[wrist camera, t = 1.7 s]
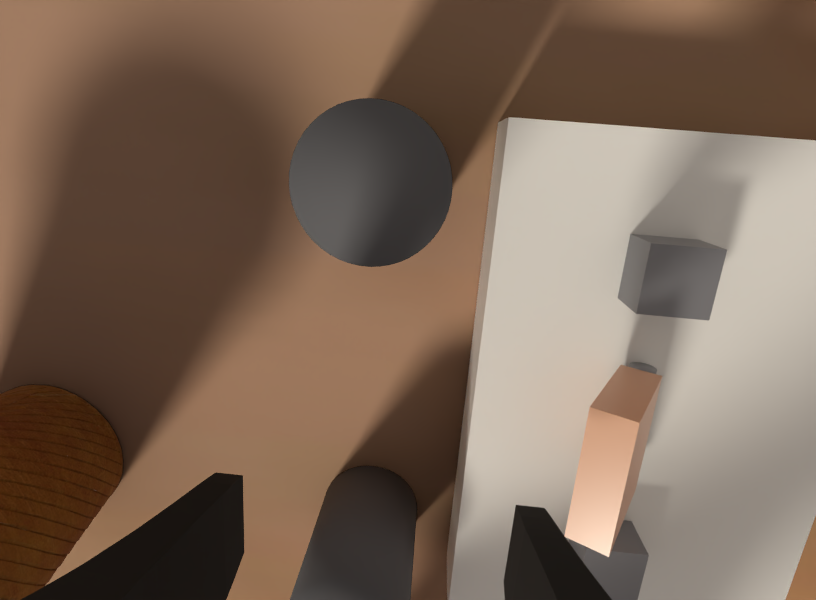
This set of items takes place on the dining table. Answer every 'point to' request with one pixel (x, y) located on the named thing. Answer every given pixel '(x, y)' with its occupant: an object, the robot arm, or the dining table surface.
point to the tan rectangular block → (612, 456)
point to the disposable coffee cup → (49, 481)
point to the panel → (646, 353)
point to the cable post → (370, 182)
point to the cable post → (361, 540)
